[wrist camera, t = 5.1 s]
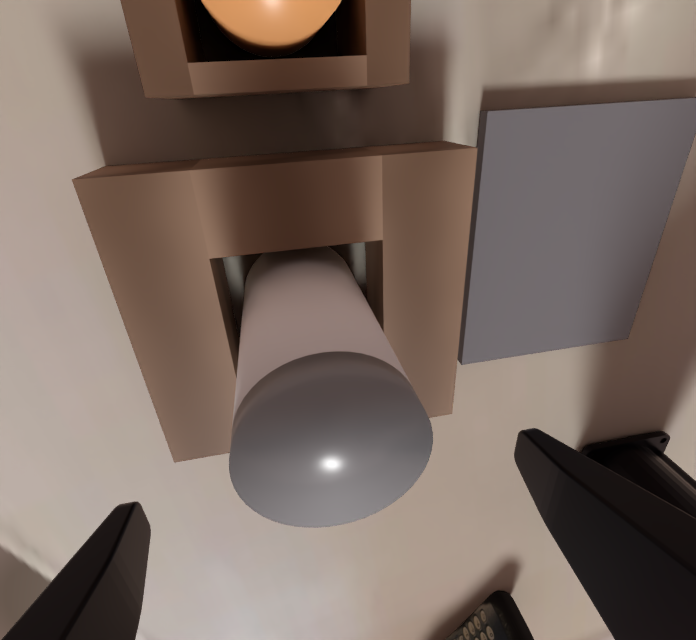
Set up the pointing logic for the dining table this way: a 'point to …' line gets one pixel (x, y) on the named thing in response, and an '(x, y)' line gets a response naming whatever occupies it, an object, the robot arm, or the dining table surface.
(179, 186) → the socket block
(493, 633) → the mobile phone
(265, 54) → the release button
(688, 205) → the dining table surface
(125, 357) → the dining table surface
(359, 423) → the cylinder
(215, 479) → the dining table surface
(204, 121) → the dining table surface
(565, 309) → the mat
